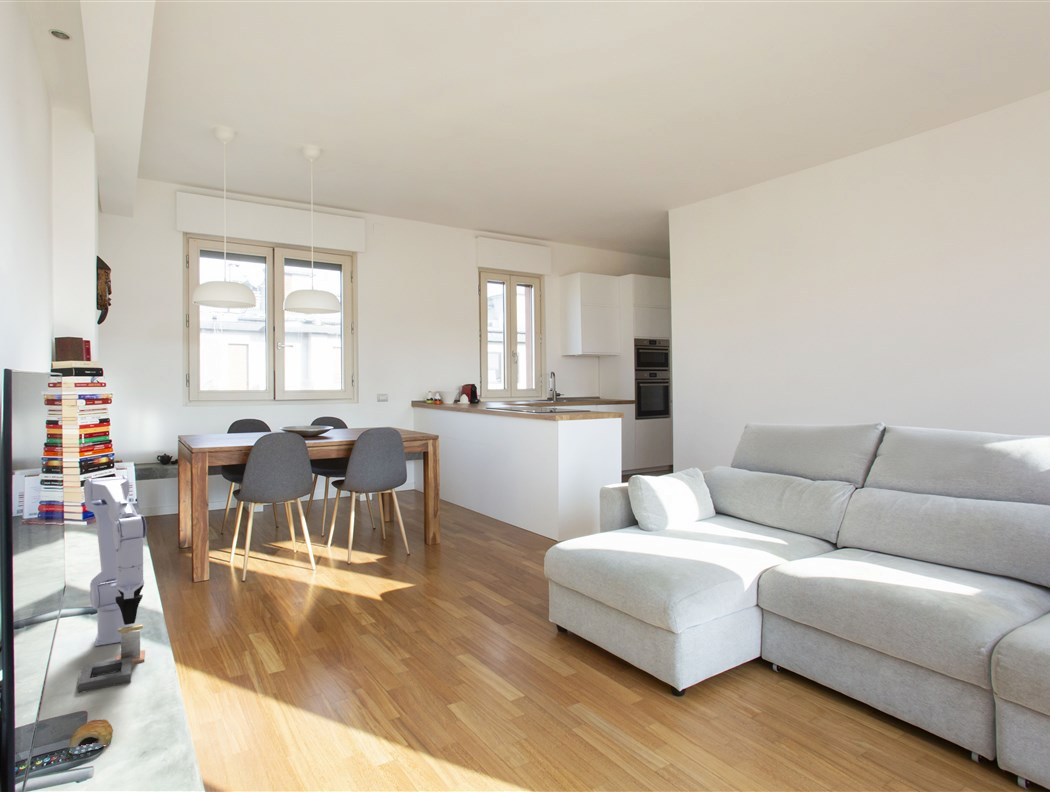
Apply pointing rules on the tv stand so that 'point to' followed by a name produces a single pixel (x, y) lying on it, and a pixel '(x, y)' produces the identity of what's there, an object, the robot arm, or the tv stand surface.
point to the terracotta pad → (141, 659)
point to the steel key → (130, 642)
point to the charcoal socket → (107, 680)
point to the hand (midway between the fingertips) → (130, 618)
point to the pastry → (92, 733)
